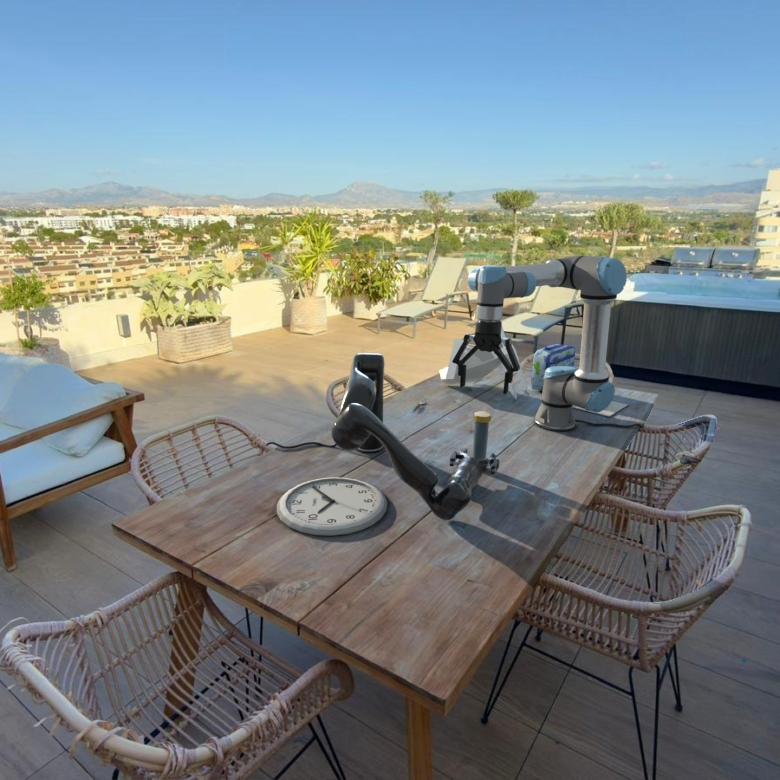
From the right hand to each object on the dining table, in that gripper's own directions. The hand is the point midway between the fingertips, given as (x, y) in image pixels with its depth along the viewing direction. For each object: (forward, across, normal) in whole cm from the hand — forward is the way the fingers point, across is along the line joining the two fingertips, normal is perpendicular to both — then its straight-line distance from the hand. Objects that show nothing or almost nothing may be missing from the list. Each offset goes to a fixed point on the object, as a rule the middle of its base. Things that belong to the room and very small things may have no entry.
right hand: (483, 389), depth 159 cm
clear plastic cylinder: (+26, 0, 0) cm, 26 cm away
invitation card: (+26, -30, -84) cm, 92 cm away
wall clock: (+26, +28, +42) cm, 57 cm away
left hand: (+20, -1, +1) cm, 21 cm away
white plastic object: (+26, +23, -78) cm, 85 cm away
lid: (+8, 0, 0) cm, 8 cm away
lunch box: (+26, -5, -101) cm, 104 cm away
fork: (+26, +40, -45) cm, 66 cm away
